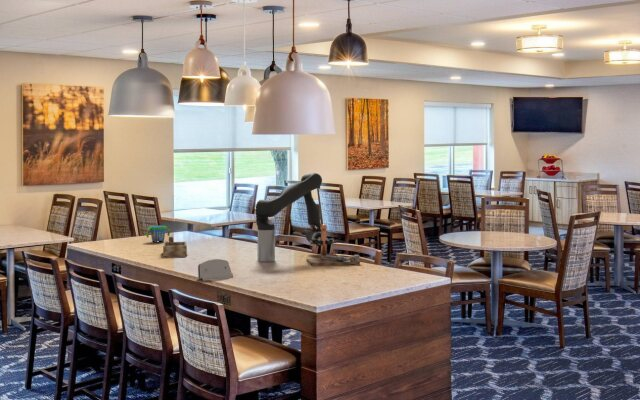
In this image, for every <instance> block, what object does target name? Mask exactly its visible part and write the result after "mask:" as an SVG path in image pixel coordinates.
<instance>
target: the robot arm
mask: <svg viewBox="0 0 640 400" xmlns="http://www.w3.org/2000/svg"><path fill="white" fill-rule="evenodd" d="M300 178H301V179H300V181H299V182H295V183H293V184H291V185H288V186H286V187H285V188H284V189H282V190H281V191H280V193H279V196H278V197H276V198H274V199H260V200H258V201H257V202H256V205H255V223H256V226H257V246H256V247H257V248H256V249H257V262H258V263H259V262H262V263H270V262H271V263H272V262H275V260H276V246H275V245H276V241H275V240H276V239H275V237H276V236H275V235H276V231H275V230H276V227H275V223H273V222H272V221H270V220H269V218H273V217H275V216H276V215H278V214H279V213H280V212H281V211H282V210H284V209H285V208H287V207H288V206H290V205H292V204H293V203H295V202H297V201H298V200H299V199H301V198H302V197H303V198H304V202H305V207H306V214H307V224H308V225H309V226H313V227H315V228H316V229H315V228H314V229H308V230H307V231H306V233H305V238H306V240H307V241H308V242H309V243H310V245H311V244H312V245H315V246H317V247H318V248H321V245H322V241H321V228H320V227H321V225H322V224H321V219H320V218H321V217H320V210H319V207H318V205H317V204H316V202H315V200H314V198H313V196H312V195H313V194H312V193H313V192H312V191H314V190H318V188H320V187H321V185H322V183H323V179H322V176H321V175H320V174H319V173H315V172H313V173H308V174H303V176H301V177H300ZM327 236H328V235H326V246H329V245H332V244H334V242H335V238H333V237H331V238H328V237H327Z"/></svg>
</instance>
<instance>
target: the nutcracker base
mask: <svg viewBox="0 0 640 400" xmlns="http://www.w3.org/2000/svg"><path fill="white" fill-rule="evenodd" d="M344 258H349V261H336V259H329V258H322V257H317V258H315V257H313V258H306V259H305V260H306V263H307V264H308V265H309V266H311V267H327V266H329V267H330V266H352V265H351V264H360V265H361V263H360V262H361V261H360V255H359V254H353V255H352V256H351V255H350V256H349V257H348V256H347V257H346V256H344Z"/></svg>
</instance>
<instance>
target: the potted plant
mask: <svg viewBox="0 0 640 400" xmlns="http://www.w3.org/2000/svg"><path fill="white" fill-rule="evenodd" d="M166 230H167V234H166ZM149 231H150V236H151V237H150V238H151V241H152V242H153V241H163V242H165V238H166V237H165V236H166V235H167V237H170V234H171V233H170V231H171V230H170V229H169V227H168V226H166V225H150V226H149V227H148V228H147V230H146V232H145V234H146V238H147V239H148V238H149Z"/></svg>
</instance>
